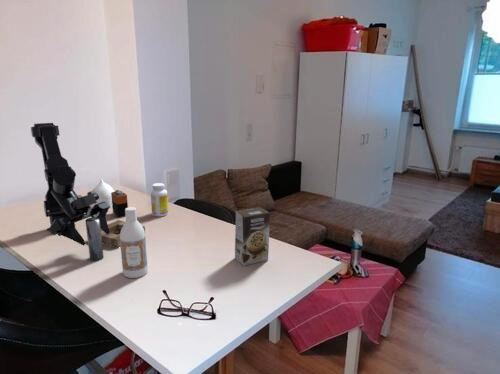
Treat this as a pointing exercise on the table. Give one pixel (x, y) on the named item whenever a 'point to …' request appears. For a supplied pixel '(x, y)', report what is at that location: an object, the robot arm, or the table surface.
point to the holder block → (113, 234)
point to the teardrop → (103, 193)
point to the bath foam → (133, 246)
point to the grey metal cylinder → (94, 239)
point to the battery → (119, 203)
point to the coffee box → (252, 235)
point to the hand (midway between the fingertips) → (97, 238)
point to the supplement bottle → (159, 200)
